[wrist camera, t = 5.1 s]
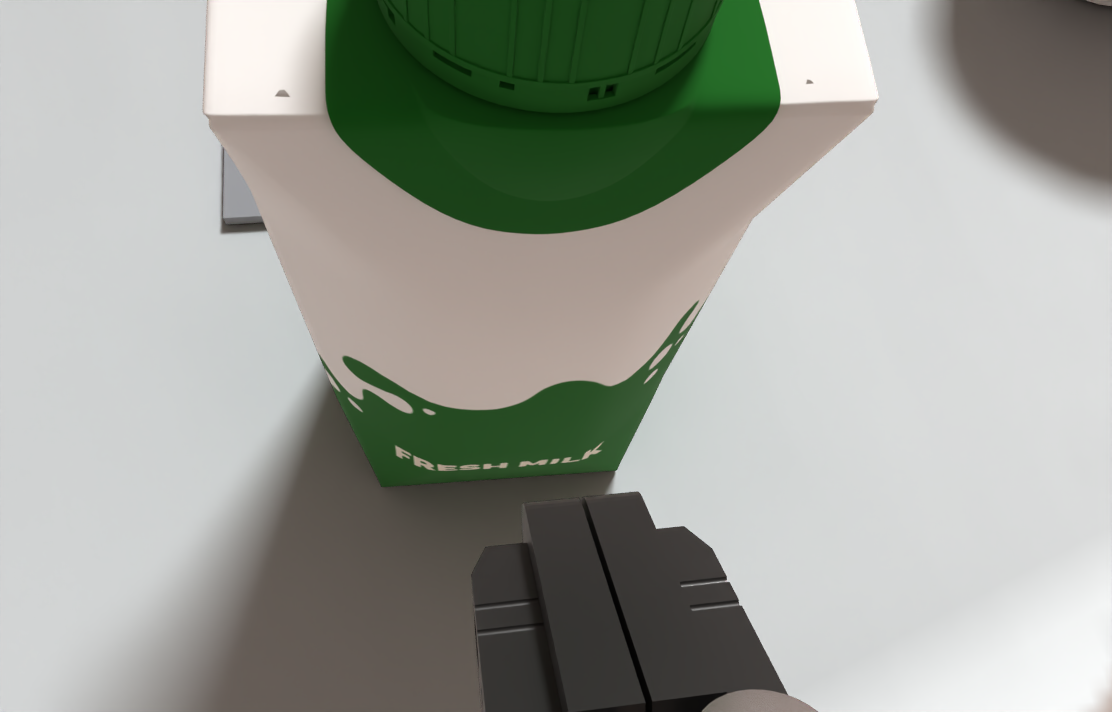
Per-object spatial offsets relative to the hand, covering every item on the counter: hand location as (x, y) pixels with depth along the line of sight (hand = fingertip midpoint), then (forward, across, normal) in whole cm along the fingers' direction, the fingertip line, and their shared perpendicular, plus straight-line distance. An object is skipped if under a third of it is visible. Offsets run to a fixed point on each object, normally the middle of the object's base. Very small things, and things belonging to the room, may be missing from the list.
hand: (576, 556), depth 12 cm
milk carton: (+16, 0, +4) cm, 17 cm away
